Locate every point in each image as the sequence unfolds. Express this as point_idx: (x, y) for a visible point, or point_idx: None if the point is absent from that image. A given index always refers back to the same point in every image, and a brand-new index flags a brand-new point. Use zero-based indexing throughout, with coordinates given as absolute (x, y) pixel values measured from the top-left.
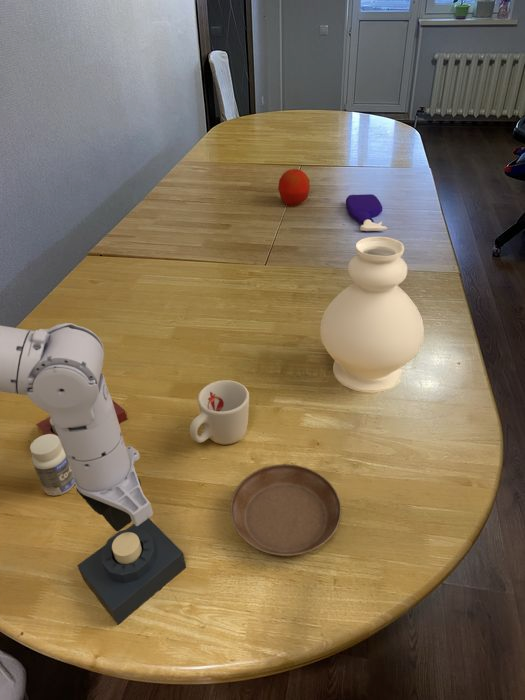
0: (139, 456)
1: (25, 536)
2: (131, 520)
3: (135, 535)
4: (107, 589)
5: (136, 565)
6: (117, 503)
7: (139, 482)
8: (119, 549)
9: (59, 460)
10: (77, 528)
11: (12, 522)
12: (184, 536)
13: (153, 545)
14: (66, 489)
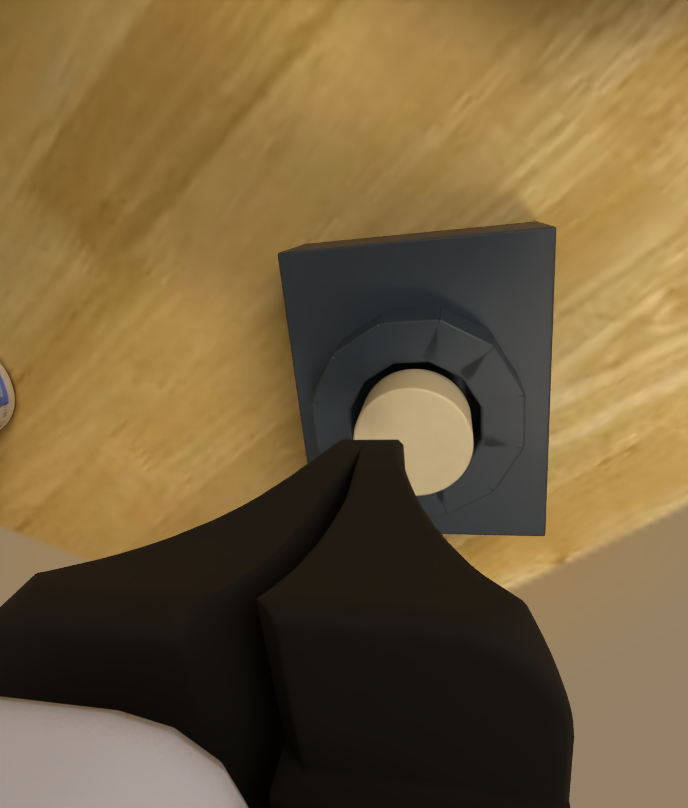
0: (170, 762)
1: (111, 528)
2: (402, 445)
3: (405, 393)
4: (465, 510)
5: (504, 436)
6: None
7: (531, 667)
8: (419, 475)
9: None
10: (160, 421)
11: (50, 531)
12: (418, 148)
13: (472, 334)
14: (3, 389)
